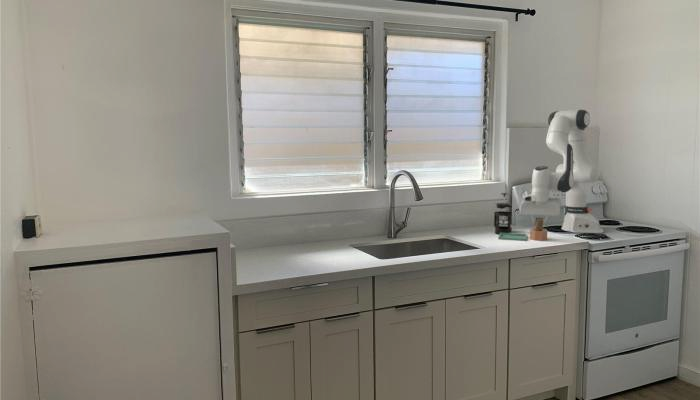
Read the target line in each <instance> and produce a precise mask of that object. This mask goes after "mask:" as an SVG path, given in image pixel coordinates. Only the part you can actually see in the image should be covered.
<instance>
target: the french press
mask: <svg viewBox="0 0 700 400" xmlns="http://www.w3.org/2000/svg"><path fill="white" fill-rule="evenodd" d="M500 195H503V202H497V203H495V205H496V208H497V209H500V211H494V214H493V215H494V216H493V217H494V221H493V226H494V234H495V235H500V233H512V227H511V224H512V222H511V220H512V219H511V218H512V216H513V212H512V211H505V209H506V208H510V209H511V208H512V205H513V203H508V202H505V199H506V195H508V193H507V192H502V193H500ZM501 209H502V210H501ZM500 217H502V218H503V219H502V220H500ZM505 217H507V220H505ZM505 225H506V226H505Z"/></svg>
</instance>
